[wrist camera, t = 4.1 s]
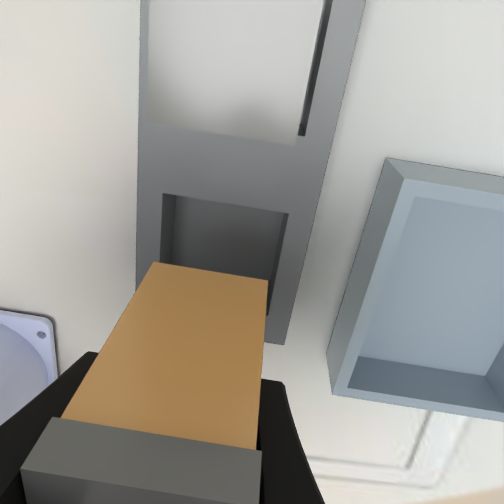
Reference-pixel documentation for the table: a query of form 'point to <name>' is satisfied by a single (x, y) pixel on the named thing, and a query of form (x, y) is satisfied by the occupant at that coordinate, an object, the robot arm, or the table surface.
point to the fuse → (231, 65)
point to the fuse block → (243, 180)
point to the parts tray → (426, 295)
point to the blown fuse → (164, 401)
